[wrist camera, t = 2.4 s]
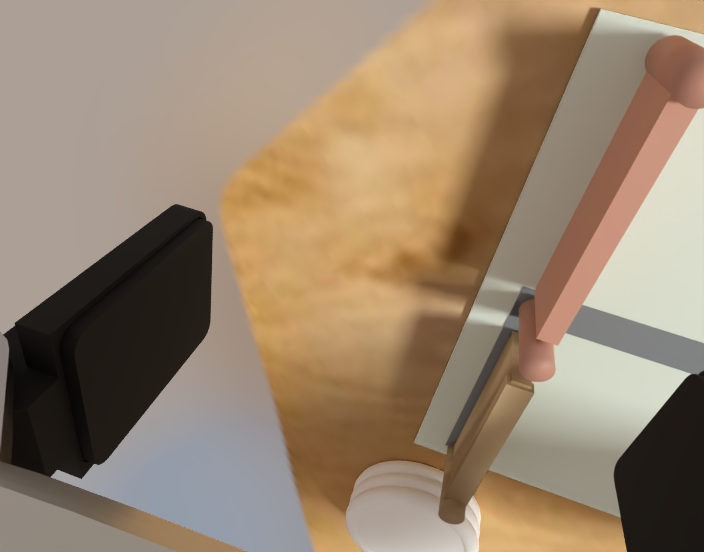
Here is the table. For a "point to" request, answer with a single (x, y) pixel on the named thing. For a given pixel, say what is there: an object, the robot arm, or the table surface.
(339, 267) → the table surface
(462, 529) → the white short round cylinder
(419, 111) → the table surface
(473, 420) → the fixed panel
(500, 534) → the table surface
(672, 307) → the board
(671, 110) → the panel
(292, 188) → the table surface
